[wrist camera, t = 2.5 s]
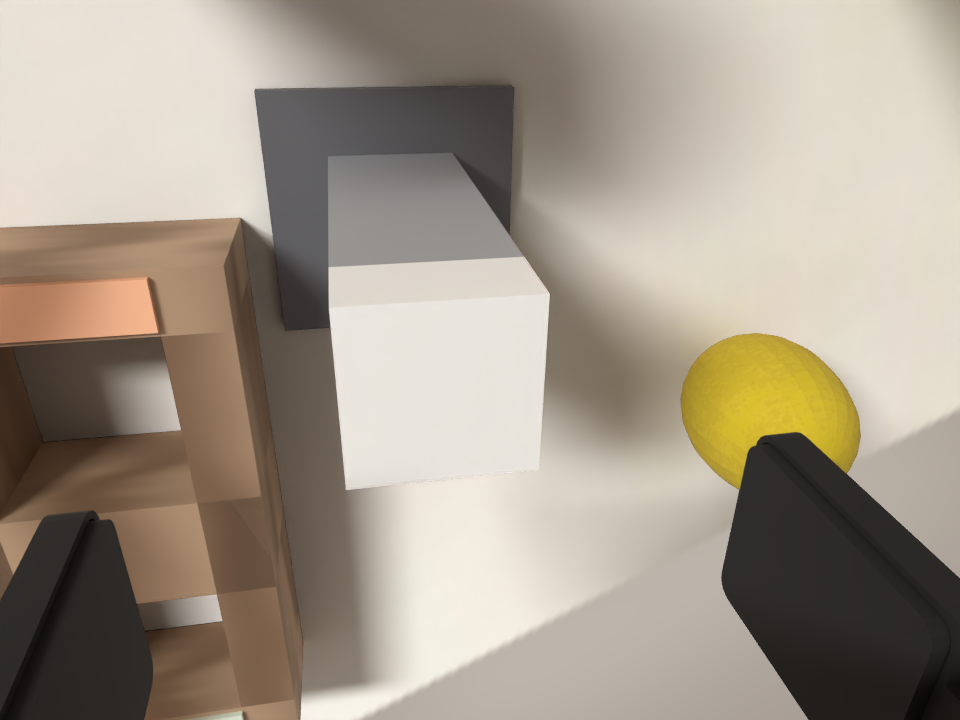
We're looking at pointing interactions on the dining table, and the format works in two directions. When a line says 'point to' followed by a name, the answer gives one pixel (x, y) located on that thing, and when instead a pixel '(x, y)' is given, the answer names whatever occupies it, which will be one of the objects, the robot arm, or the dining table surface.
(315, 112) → the mat
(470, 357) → the plug
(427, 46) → the dining table surface
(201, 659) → the socket block
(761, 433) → the lemon
